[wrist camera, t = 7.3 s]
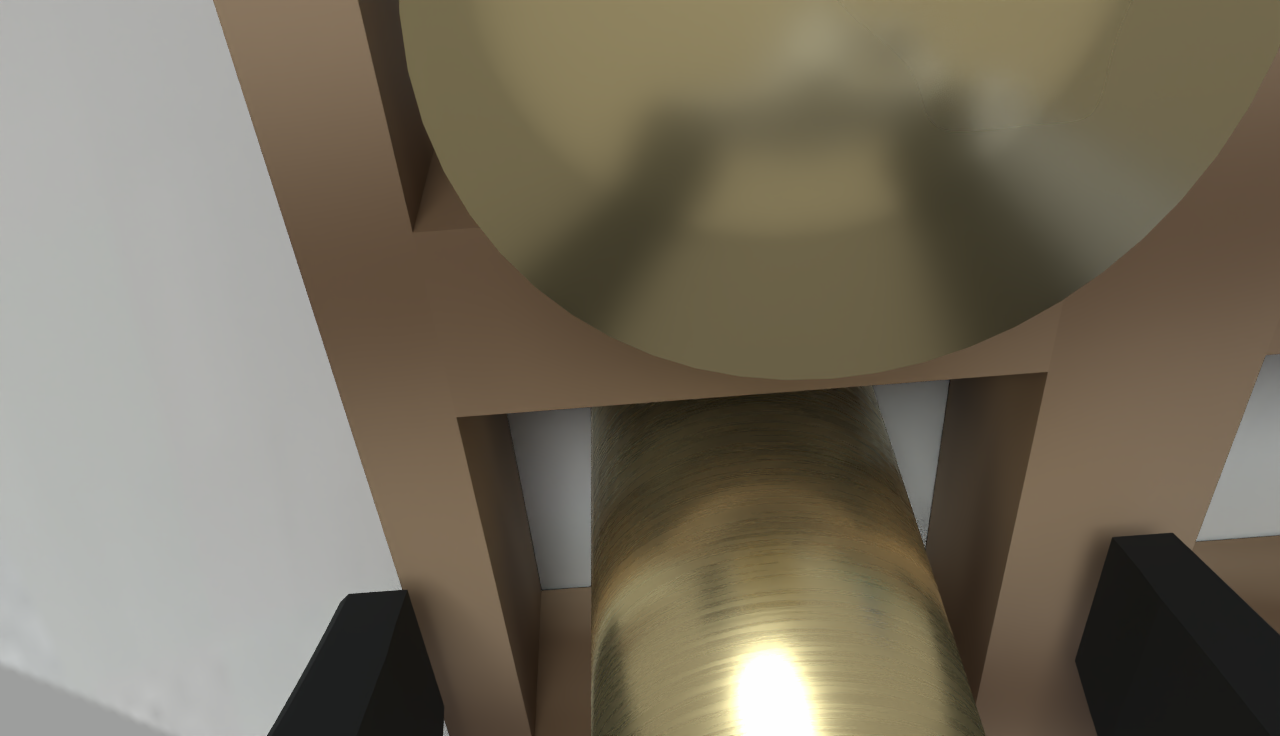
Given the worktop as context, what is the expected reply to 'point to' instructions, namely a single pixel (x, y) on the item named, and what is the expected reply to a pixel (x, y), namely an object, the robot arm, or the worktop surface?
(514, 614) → the wooden grid frame
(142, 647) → the worktop surface
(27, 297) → the worktop surface
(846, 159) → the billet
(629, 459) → the brass billet
